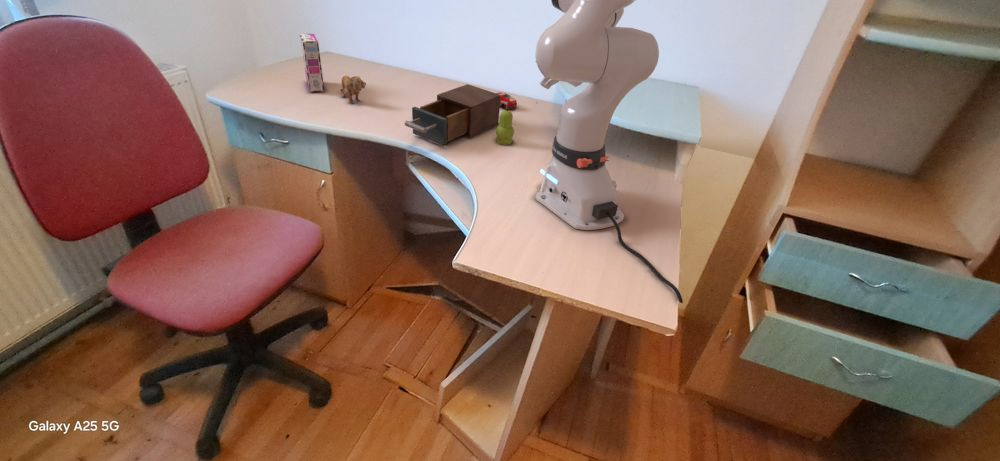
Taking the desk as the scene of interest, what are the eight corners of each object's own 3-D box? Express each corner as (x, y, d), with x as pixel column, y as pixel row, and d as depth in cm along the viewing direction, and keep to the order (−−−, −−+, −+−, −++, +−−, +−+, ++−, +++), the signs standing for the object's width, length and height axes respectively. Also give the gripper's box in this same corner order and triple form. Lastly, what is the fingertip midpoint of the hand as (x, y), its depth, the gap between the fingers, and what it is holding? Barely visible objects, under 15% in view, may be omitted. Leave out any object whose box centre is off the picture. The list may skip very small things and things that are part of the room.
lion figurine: (369, 104, 149) (367, 76, 144) (355, 107, 146) (352, 79, 141) (347, 90, 157) (344, 64, 152) (333, 93, 154) (329, 66, 149)
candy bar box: (325, 92, 155) (318, 41, 145) (310, 93, 153) (301, 41, 143) (321, 81, 163) (314, 32, 153) (306, 82, 161) (298, 33, 151)
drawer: (430, 152, 123) (430, 125, 118) (398, 139, 128) (397, 112, 123) (473, 132, 136) (474, 107, 131) (443, 120, 141) (443, 96, 136)
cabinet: (470, 138, 134) (471, 106, 129) (436, 125, 140) (436, 94, 134) (498, 124, 145) (500, 94, 139) (466, 112, 150) (467, 84, 145)
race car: (479, 101, 160) (479, 90, 158) (488, 97, 164) (489, 86, 161) (509, 111, 154) (510, 100, 152) (518, 107, 158) (519, 96, 155)
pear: (516, 144, 134) (520, 109, 127) (499, 146, 132) (502, 110, 125) (508, 136, 138) (511, 102, 131) (492, 138, 135) (494, 103, 129)
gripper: (551, 32, 134) (519, 69, 135) (592, 49, 119) (556, 90, 121) (561, 47, 138) (531, 82, 140) (603, 65, 123) (568, 104, 125)
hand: (543, 86), depth 130 cm, fingers closed
